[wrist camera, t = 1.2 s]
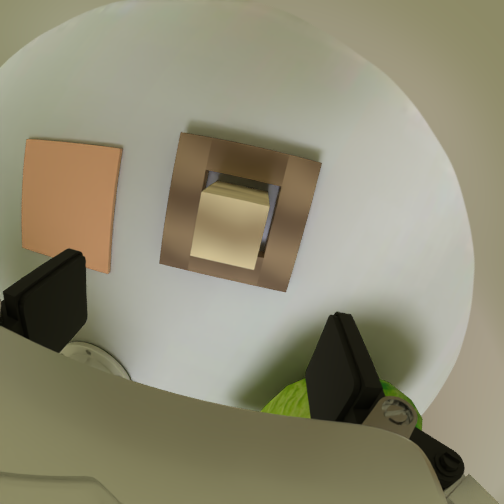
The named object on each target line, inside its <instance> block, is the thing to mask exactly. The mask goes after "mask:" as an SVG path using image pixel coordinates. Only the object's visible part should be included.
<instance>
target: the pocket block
mask: <svg viewBox="0 0 504 504" xmlns="http://www.w3.org/2000/svg"><path fill="white" fill-rule="evenodd" d="M321 164H322V163H319V162H316V161H312V160H308V159H305V158H301V157H297V156H293V155H289V154H285V153H281V152H277V151H273V150H268V149H264V148H260V147H255V146H251V145H246V144H241V143H237V142H232V141H227V140H222V139H216V138H211V137H206V136H200V135H194V134H188V133H182V132H181V134H180V139H179V144H178V148H177V154H176V159H175V164H174V169H173V175H172V180H171V186H170V192H169V198H168V204H167V211H166V217H165V224H164V231H163V238H162V246H161V254H160V262H159V264H163V265H168V266H172V267H176V268H180V269H184V270H188V271H193V272H197V273H201V274H205V275H210V276H214V277H218V278H223V279H227V280H232V281H236V282H241V283H245V284H250V285H254V286H259V287H263V288H268V289H273V290H277V291H282V292H286V290H287V287H288V284H289V280H290V277H291V274H292V270H293V267H294V263H295V260H296V256H297V253H298V249H299V246H300V242H301V239H302V235H303V232H304V228H305V225H306V221H307V217H308V214H309V210H310V206H311V203H312V199H313V195H314V191H315V187H316V184H317V180H318V176H319V172H320V168H321ZM209 171H214V172H219V173H223V174H228V175H233V176H238V177H242V178H247V179H251V180H255V181H260V182H264V183H268V184H273V185H277V186H280V188H279V192H278V196H277V200H276V204H275V208H274V212H273V216H272V220H271V224H270V228H269V232H268V236H267V240H266V244H265V248H264V251H259V252H258V256H257V260H256V264H255V268H254V270H252V269H247V268H243V267H238V266H234V265H229V264H225V263H220V262H216V261H212V260H207V259H203V258H199V257H194V256H190V254H191V247H192V242H193V236H194V230H195V224H196V219H197V213H198V208H199V202H200V197H201V192H202V191H203V190H205V188H206V183H207V178H208V173H209Z"/></svg>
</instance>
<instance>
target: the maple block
mask: <svg viewBox="0 0 504 504" xmlns="http://www.w3.org/2000/svg"><path fill="white" fill-rule="evenodd" d="M269 207H270V205H269V197H268V192H267V191H263V190H259V189H254V188H250V187H245V186H241V185H236V184H232V183H227V182H222V181H218V180H217V181H216V182H215V183H213V184H212V185H210V186H209V187H207V188H206V189H205V190H203V191H202V192H201V197H200V202H199V208H198V213H197V219H196V224H195V230H194V236H193V242H192V247H191V254H190V256H194V257H199V258H203V259H207V260H212V261H216V262H220V263H225V264H229V265H234V266H238V267H243V268H247V269H252V270H254V268H255V264H256V260H257V256H258V252H259V248H260V244H261V240H262V236H263V232H264V228H265V224H266V220H267V216H268V211H269Z"/></svg>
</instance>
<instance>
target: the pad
mask: <svg viewBox="0 0 504 504" xmlns="http://www.w3.org/2000/svg"><path fill="white" fill-rule="evenodd" d="M122 150H123V149H121V148H114V147H106V146H98V145H90V144H81V143H71V142H61V141H50V140H37V139H27V140H26V148H25V158H24V169H23V184H22V248H25V249H28V250H31V251H34V252H37V253H41V254H44V255H47V256H50V257H55V256H56V255H58V254H59V253H61V252H63V251H64V250H66V249H68V248H70V249H74V250H77V251H81V252H82V254H83V256H84V257H85V259H86V268H89V269H92V270H96V271H99V272H103V273H106V274H108V273H110V264H111V246H112V232H113V220H114V210H115V200H116V192H117V184H118V176H119V169H120V163H121V156H122Z"/></svg>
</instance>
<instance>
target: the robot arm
mask: <svg viewBox="0 0 504 504" xmlns="http://www.w3.org/2000/svg"><path fill="white" fill-rule="evenodd" d="M3 295H4V300H3V301H2V302H1V300H0V504H499V503H498V502H497V501H496V500H495V499H494V498H493V497H492V496H491V495H490V494H489V493H488V492H487V491H486V490H485V489H484V488H483V487H482V486H481V485H480V484H479V483H478V482H477V481H476V480H475V479H474V478H473V477H472V476H471V475H469V474H468V475H467V476H465V475H464V474H463V473H464V463H463V461H462V459H461V457H460V456H459V455H458V454H457V453H456V452H454V450H452V449H450V448H449V447H447V446H445V445H444V444H442V443H440V442H439V441H437V440H436V439H434V438H432V437H431V436H429V435H428V434H426V433H424V432H423V431H421V430H420V429H418V428H416V427H415V425H416V423H417V419H418V417H417V412H416V411H415V409H414V407H413V406H412V405H411V404H410V403H408V402H407V401H406V400H404V399H402V398H399V397H395V396H385V393H384V391H383V387H382V385H381V382H380V380H379V377H378V375H377V372H376V370H375V368H374V365H373V363H372V360H371V358H370V356H369V353H368V351H367V349H366V346H365V344H364V342H363V339H362V337H361V335H360V333H359V330H358V328H357V326H356V324H355V321H354V319H353V317H352V315H351V314H345V313H340V312H336V313H335V314H334V315H330V316H329V317H328V320H327V322H326V325H325V327H324V330H323V332H322V335H321V337H320V340H319V342H318V344H317V347H316V349H315V352H314V354H313V356H312V359H311V361H310V363H309V365H308V368H307V370H306V375H305V380H306V387H307V395H308V402H309V410H310V418H311V419H310V418H301V417H293V416H285V415H278V414H271V413H265V412H258V411H253V410H247V409H242V408H236V407H231V406H226V405H221V404H217V403H212V402H208V401H203V400H199V399H195V398H191V397H187V396H183V395H179V394H175V393H171V392H168V391H164V390H161V389H157V388H154V387H150V386H147V385H144V384H141V383H137V382H134V381H131V380H130V378H129V376H128V374H127V373H126V371H125V370H124V369H123V367H122V366H121V365H120V364H119V363H118V362H117V361H116V360H115V359H114V358H113V357H112V356H111V355H109V354H108V353H106V352H105V351H103V350H102V349H100V348H98V347H96V346H94V345H91V344H88V343H84V342H70V343H69V341H70V340H71V339H72V338H73V337H74V336H75V334H76V333H77V332H78V331H79V330H80V329H81V328H82V326H83V325H84V324H85V323H86V320H87V298H86V259H85V257H84V256H83V254H82V252H81V251H77V250H74V249H70V248H68V249H66V250H64V251H63V252H61V253H59V254H58V255H56V256H55V257H53V258H52V259H50V260H49V261H47V262H45V263H44V264H42V265H41V266H39V267H38V268H36V269H35V270H33V271H32V272H30V273H29V274H27V275H26V276H24V277H23V278H21V279H20V280H19V281H17V282H16V283H14V284H13V285H11V286H10V287H9V288H7V289H6V290H4V291H3Z"/></svg>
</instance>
